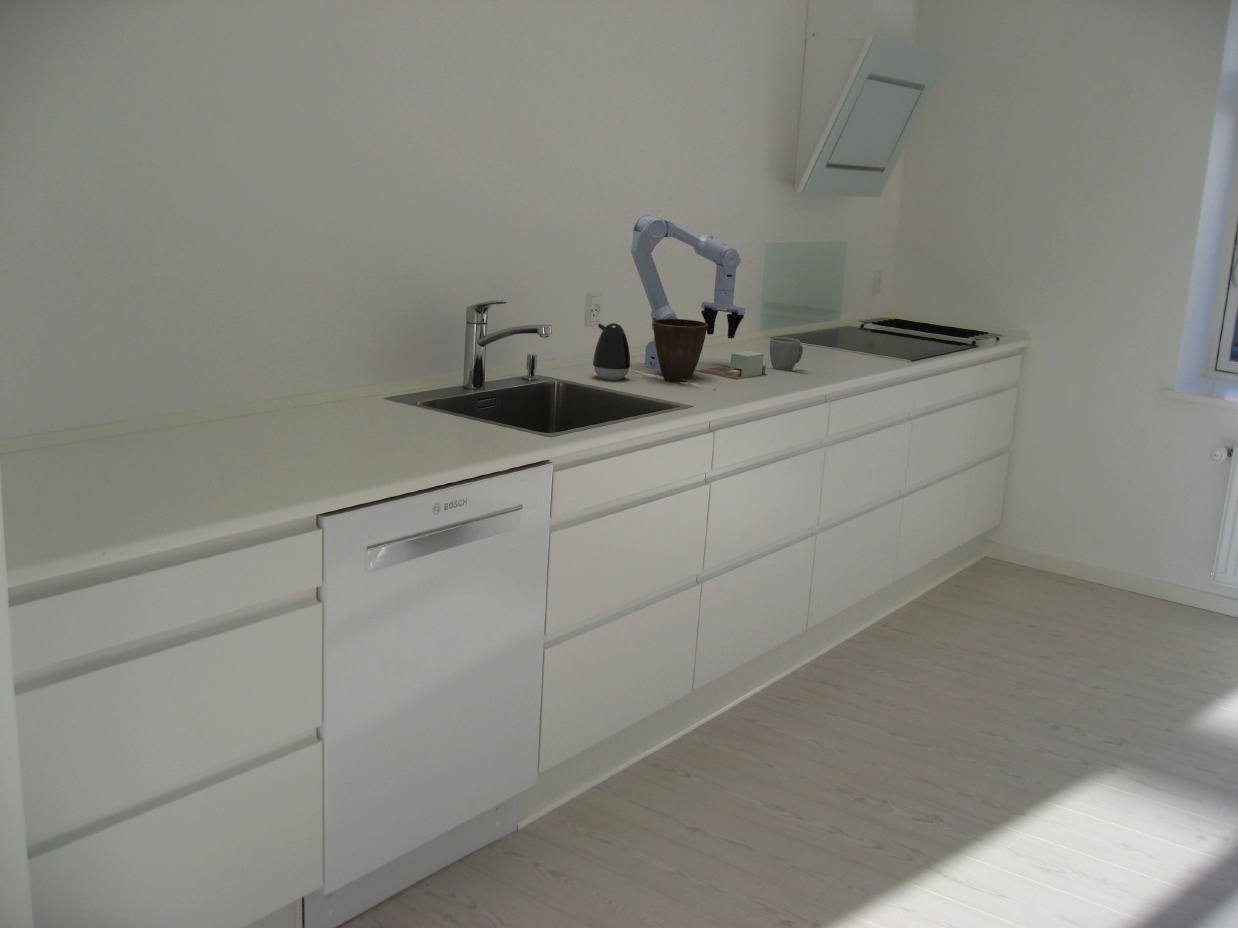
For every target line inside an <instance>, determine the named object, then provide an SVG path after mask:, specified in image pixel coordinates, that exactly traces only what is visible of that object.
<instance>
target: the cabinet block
mask: <svg viewBox="0 0 1238 928" xmlns="http://www.w3.org/2000/svg"><path fill="white" fill-rule="evenodd" d="M730 354H731V355H730V364H729V365H730V366H729V367H730V371H733V370H739V369H742V372H741V377H750V378H752V377H751V376H757V375H762V367H763V365H764V357H765V356H764V355H765V354H764V353H760V352H755V351H751V350H747V351H746V350H745V351H737V352H732V353H730ZM757 377H758V376H757Z"/></svg>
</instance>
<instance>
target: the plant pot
mask: <svg viewBox="0 0 1238 928" xmlns="http://www.w3.org/2000/svg"><path fill="white" fill-rule="evenodd" d="M653 326H654V331H653V334H654V335H653V338H654V337H655V344H656V350H657V356H658V360H659V364H660V368H661V370H660V371H661V376H662V378H663V380H664V381H667V382H672V383H687V382H688V381H686V380H689V379H692V377H693V375H694V372H696V369H697V365H698V363H699V360H700V357H701V355H702V350H703V347H704V343H705V339H706V336H707V335H706V334H707V326H708V324H707V323H705V321H704V322H703V321H700V320H694V319H686V318H685V319H684V318H678V319H659V320H654V321H653Z"/></svg>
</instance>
